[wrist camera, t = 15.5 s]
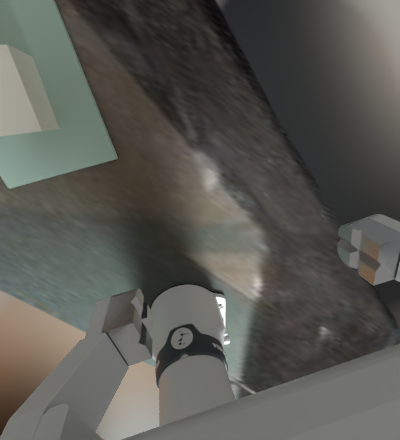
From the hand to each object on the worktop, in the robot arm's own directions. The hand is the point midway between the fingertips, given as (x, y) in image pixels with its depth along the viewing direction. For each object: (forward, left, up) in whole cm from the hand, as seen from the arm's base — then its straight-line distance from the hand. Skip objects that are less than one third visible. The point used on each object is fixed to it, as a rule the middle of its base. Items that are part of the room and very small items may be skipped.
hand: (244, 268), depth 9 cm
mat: (+12, +17, -29) cm, 36 cm away
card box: (+12, +17, -28) cm, 35 cm away
